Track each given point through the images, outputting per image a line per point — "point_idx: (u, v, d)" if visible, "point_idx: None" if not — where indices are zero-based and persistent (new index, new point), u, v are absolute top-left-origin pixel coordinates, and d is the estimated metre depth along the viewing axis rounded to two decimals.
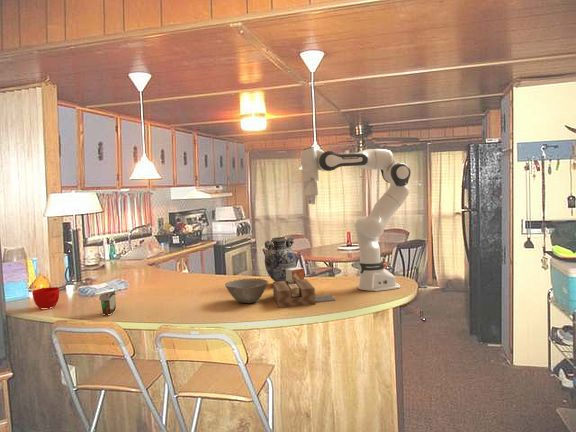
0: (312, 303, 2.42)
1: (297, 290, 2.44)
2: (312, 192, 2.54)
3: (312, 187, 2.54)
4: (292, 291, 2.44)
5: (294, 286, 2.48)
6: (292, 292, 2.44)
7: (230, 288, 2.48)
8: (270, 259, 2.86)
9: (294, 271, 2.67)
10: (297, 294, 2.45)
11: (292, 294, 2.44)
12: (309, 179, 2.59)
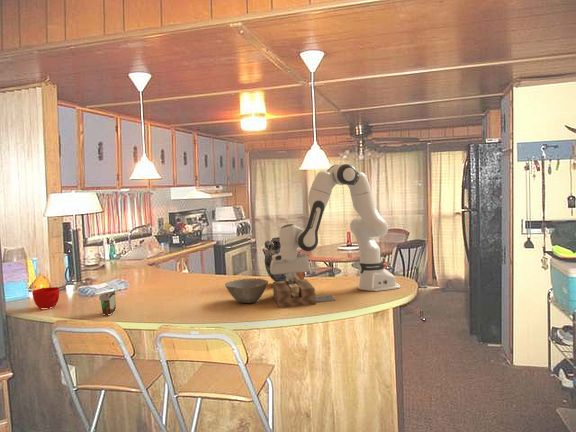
0: (312, 303, 2.42)
1: (297, 289, 2.45)
2: (308, 268, 2.60)
3: None
4: (292, 290, 2.44)
5: (294, 285, 2.48)
6: (292, 291, 2.44)
7: (230, 288, 2.48)
8: (270, 259, 2.86)
9: None
10: (297, 293, 2.45)
11: (292, 293, 2.44)
12: (297, 256, 2.58)
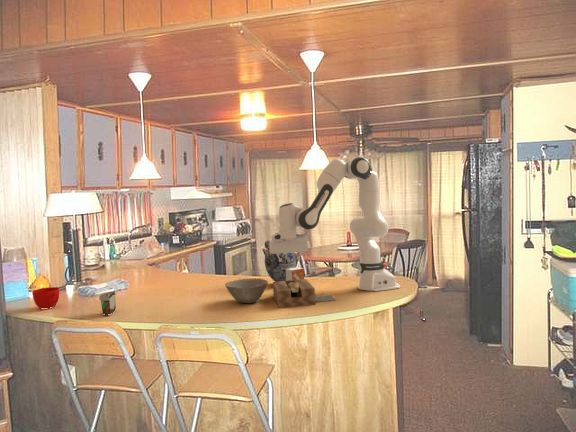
0: (312, 303, 2.42)
1: (296, 284, 2.46)
2: None
3: (307, 243, 2.59)
4: (291, 285, 2.45)
5: None
6: (292, 286, 2.45)
7: (230, 288, 2.48)
8: (270, 259, 2.86)
9: (294, 271, 2.67)
10: (296, 288, 2.45)
11: (291, 288, 2.45)
12: (296, 235, 2.57)
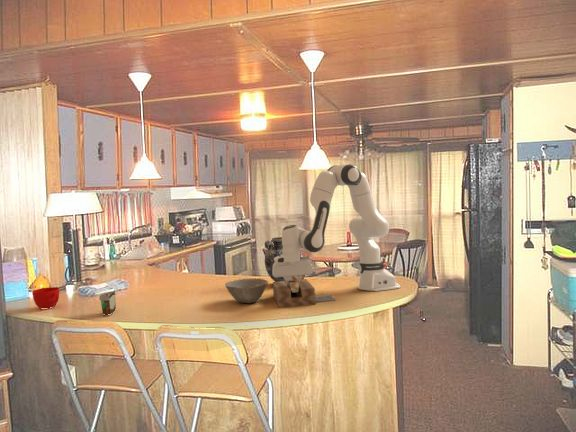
0: (312, 303, 2.42)
1: (296, 284, 2.46)
2: None
3: None
4: (291, 285, 2.45)
5: None
6: (292, 286, 2.45)
7: (230, 288, 2.48)
8: (270, 259, 2.86)
9: None
10: (296, 288, 2.45)
11: (291, 288, 2.45)
12: (300, 258, 2.49)
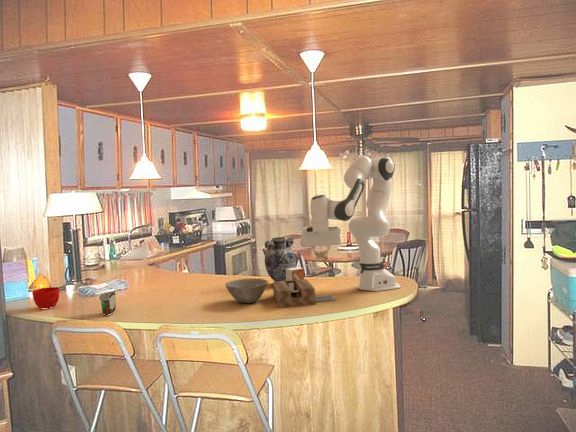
0: (312, 303, 2.42)
1: (325, 254, 2.45)
2: (340, 241, 2.50)
3: None
4: (320, 254, 2.44)
5: None
6: (321, 255, 2.44)
7: (230, 288, 2.48)
8: (270, 259, 2.86)
9: (294, 271, 2.67)
10: (325, 258, 2.44)
11: (320, 257, 2.44)
12: (328, 228, 2.49)
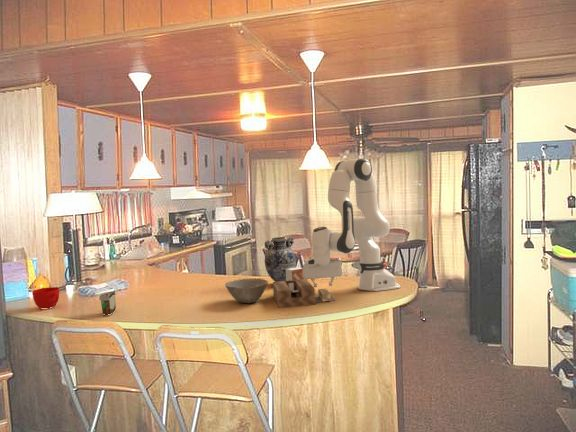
0: (312, 303, 2.42)
1: (328, 295, 2.45)
2: None
3: None
4: (323, 296, 2.45)
5: (325, 291, 2.49)
6: (324, 297, 2.45)
7: (230, 288, 2.48)
8: (270, 259, 2.86)
9: (294, 271, 2.67)
10: (328, 299, 2.45)
11: (323, 299, 2.45)
12: (330, 260, 2.50)
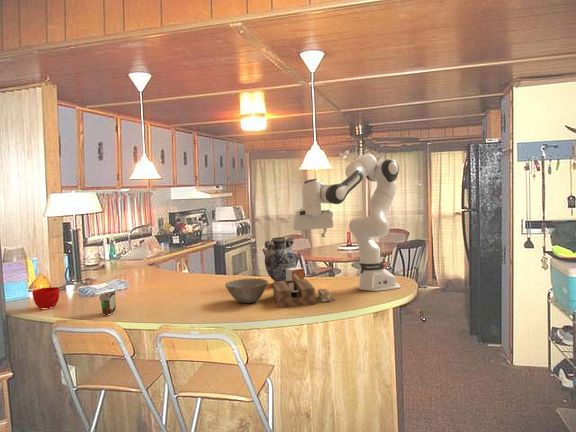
0: (312, 303, 2.42)
1: (328, 295, 2.45)
2: None
3: None
4: (323, 296, 2.45)
5: (325, 291, 2.49)
6: (324, 297, 2.45)
7: (230, 288, 2.48)
8: (270, 259, 2.86)
9: (294, 271, 2.67)
10: (328, 299, 2.45)
11: (323, 299, 2.45)
12: (321, 212, 2.53)
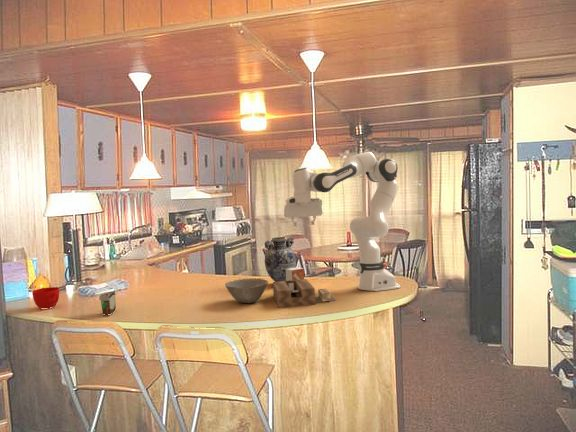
0: (312, 303, 2.42)
1: (328, 295, 2.45)
2: None
3: (321, 207, 2.61)
4: (323, 296, 2.45)
5: (325, 291, 2.49)
6: (324, 297, 2.45)
7: (230, 288, 2.48)
8: (270, 259, 2.86)
9: (294, 271, 2.67)
10: (328, 299, 2.45)
11: (323, 299, 2.45)
12: (310, 200, 2.60)
